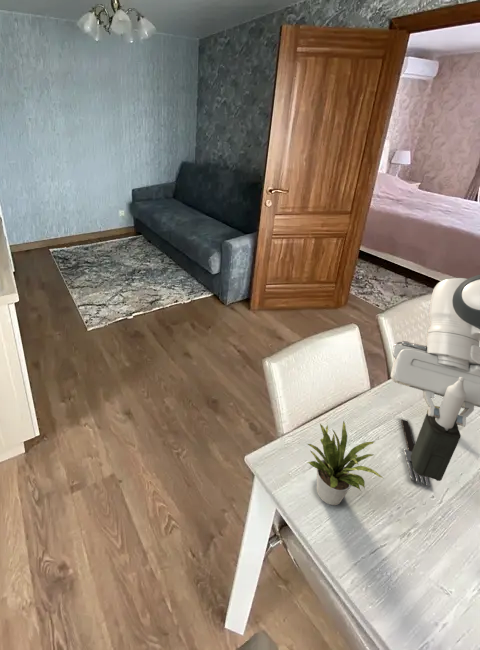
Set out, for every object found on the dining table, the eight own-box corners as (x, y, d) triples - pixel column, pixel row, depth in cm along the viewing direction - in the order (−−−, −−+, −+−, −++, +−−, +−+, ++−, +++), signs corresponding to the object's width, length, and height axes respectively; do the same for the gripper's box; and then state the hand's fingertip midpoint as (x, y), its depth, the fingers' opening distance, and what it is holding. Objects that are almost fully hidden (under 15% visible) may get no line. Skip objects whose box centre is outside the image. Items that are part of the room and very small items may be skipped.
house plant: (380, 496, 76) (399, 444, 70) (357, 548, 67) (376, 494, 61) (318, 453, 86) (329, 404, 79) (290, 493, 77) (301, 441, 70)
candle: (415, 474, 73) (450, 383, 64) (409, 453, 78) (441, 365, 68) (443, 482, 71) (484, 390, 62) (435, 460, 76) (473, 371, 66)
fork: (411, 423, 94) (412, 422, 94) (428, 486, 78) (429, 485, 78) (396, 419, 95) (397, 418, 95) (410, 480, 79) (411, 479, 79)
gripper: (397, 335, 75) (389, 401, 70) (521, 365, 66) (520, 443, 62) (391, 340, 80) (383, 402, 76) (504, 369, 71) (503, 440, 67)
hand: (446, 421), depth 69 cm, fingers closed on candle, 3 cm apart
